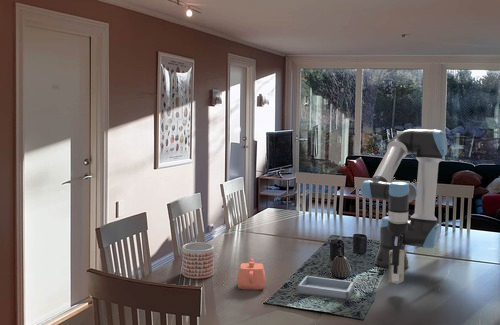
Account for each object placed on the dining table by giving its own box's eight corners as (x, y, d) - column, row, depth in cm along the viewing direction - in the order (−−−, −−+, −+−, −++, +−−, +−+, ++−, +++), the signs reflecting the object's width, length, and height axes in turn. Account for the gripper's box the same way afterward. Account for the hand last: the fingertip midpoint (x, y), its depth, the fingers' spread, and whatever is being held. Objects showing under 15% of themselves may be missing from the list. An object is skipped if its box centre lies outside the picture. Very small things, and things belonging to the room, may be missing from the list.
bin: (305, 283, 215) (306, 275, 214) (353, 289, 208) (354, 281, 207) (297, 293, 202) (297, 285, 202) (348, 300, 195) (348, 292, 195)
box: (394, 278, 207) (395, 247, 206) (404, 281, 204) (405, 250, 203) (387, 281, 203) (388, 250, 202) (397, 284, 200) (398, 252, 199)
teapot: (236, 293, 202) (236, 268, 201) (238, 278, 220) (239, 255, 218) (265, 294, 201) (265, 268, 200) (265, 279, 219) (265, 255, 218)
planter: (194, 281, 215) (194, 252, 214) (176, 273, 225) (176, 245, 224) (219, 275, 224) (220, 246, 223) (201, 267, 234) (201, 240, 233)
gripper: (390, 215, 211) (388, 269, 214) (385, 226, 193) (383, 285, 196) (409, 216, 208) (407, 271, 211) (406, 228, 191) (404, 287, 194)
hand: (396, 277), depth 204 cm, fingers closed on box, 6 cm apart
